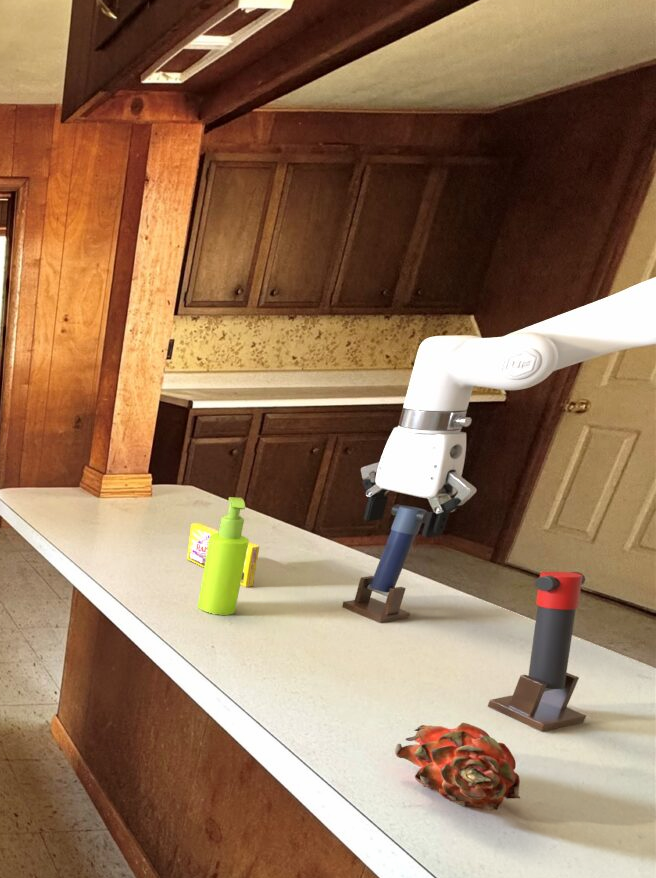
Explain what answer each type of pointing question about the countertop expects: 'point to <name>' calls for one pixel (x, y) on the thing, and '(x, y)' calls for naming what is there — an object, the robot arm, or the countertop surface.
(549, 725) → the holder
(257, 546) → the candy box
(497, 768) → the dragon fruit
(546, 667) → the red marker
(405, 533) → the navy marker
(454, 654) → the countertop surface
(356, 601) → the holder
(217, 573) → the soap dispenser
